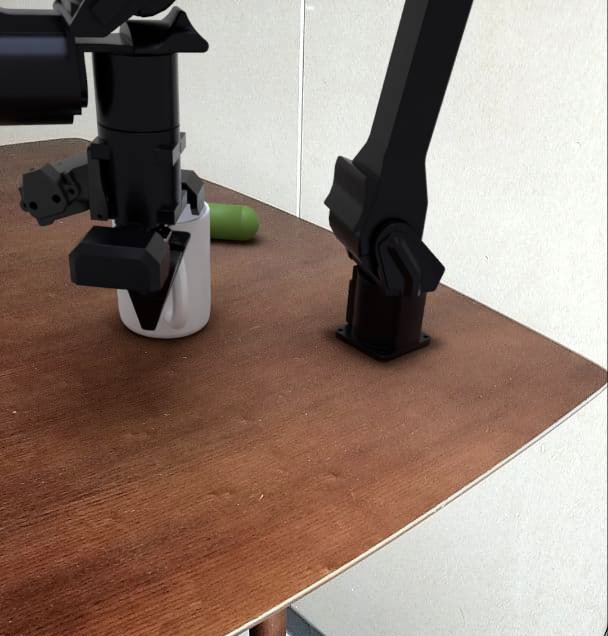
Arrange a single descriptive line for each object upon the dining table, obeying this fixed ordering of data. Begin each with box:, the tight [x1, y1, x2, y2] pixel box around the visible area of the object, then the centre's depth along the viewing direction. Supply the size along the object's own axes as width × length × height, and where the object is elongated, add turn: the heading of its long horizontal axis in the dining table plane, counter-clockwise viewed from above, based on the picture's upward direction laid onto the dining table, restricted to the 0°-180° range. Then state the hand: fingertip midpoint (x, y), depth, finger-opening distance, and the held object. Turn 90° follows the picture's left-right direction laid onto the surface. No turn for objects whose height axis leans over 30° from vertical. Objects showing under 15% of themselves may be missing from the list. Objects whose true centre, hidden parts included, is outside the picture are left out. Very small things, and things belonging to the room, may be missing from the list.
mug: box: [111, 200, 212, 339], centre depth 75 cm, size 12×8×10 cm
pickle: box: [206, 202, 260, 242], centre depth 94 cm, size 10×4×4 cm, turn 86°
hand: (149, 329), depth 70 cm, fingers closed
